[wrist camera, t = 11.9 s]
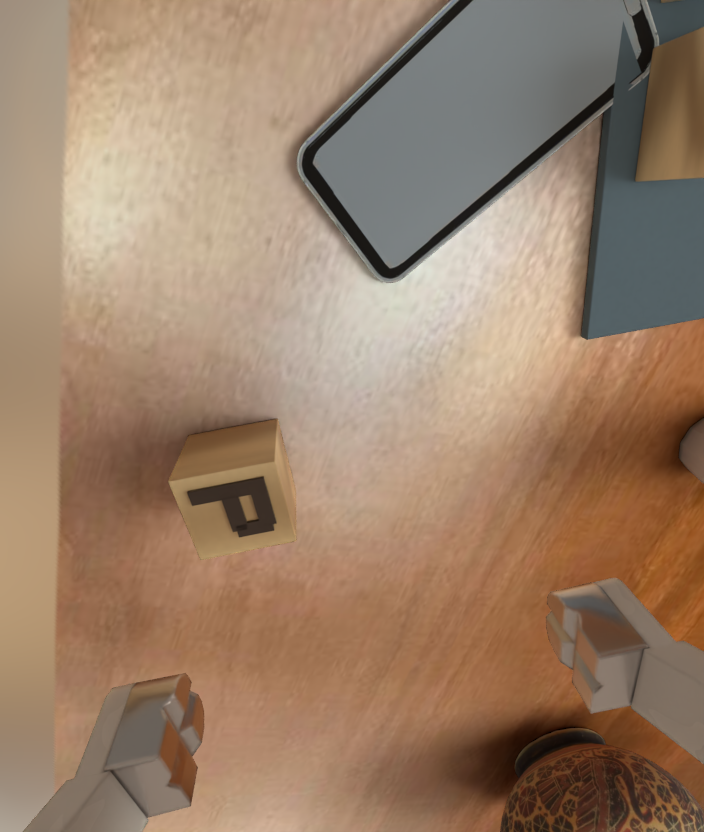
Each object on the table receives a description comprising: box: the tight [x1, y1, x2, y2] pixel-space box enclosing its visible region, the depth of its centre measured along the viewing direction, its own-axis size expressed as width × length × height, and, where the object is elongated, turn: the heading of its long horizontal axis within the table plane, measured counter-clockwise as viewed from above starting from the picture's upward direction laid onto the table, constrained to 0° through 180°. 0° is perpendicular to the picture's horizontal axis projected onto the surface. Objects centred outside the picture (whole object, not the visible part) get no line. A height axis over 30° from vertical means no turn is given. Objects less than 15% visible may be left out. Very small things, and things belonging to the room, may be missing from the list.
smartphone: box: [297, 0, 659, 283], centre depth 19 cm, size 7×1×15 cm
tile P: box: [168, 419, 296, 560], centre depth 23 cm, size 5×5×5 cm
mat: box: [581, 0, 704, 340], centre depth 20 cm, size 20×8×1 cm, turn 8°
